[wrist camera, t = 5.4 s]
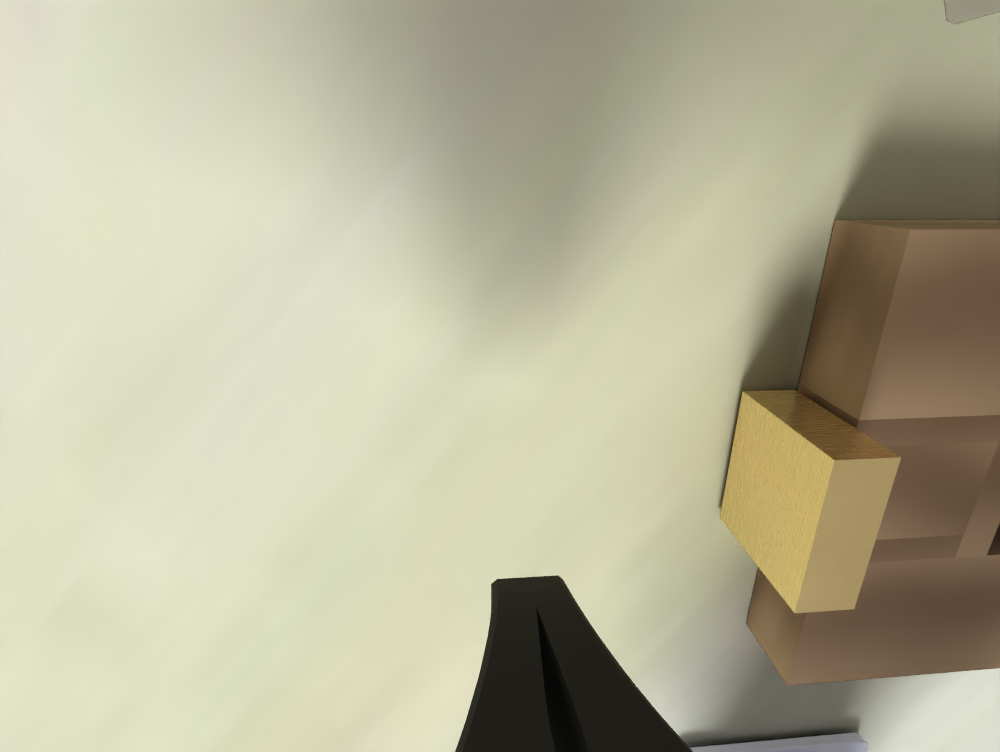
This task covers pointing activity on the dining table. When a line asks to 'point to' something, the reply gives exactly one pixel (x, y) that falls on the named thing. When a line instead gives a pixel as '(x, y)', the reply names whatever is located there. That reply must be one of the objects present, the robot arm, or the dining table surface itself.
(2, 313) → the dining table surface
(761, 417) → the light wooden block
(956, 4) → the lighter
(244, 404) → the dining table surface
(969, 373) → the socket block
